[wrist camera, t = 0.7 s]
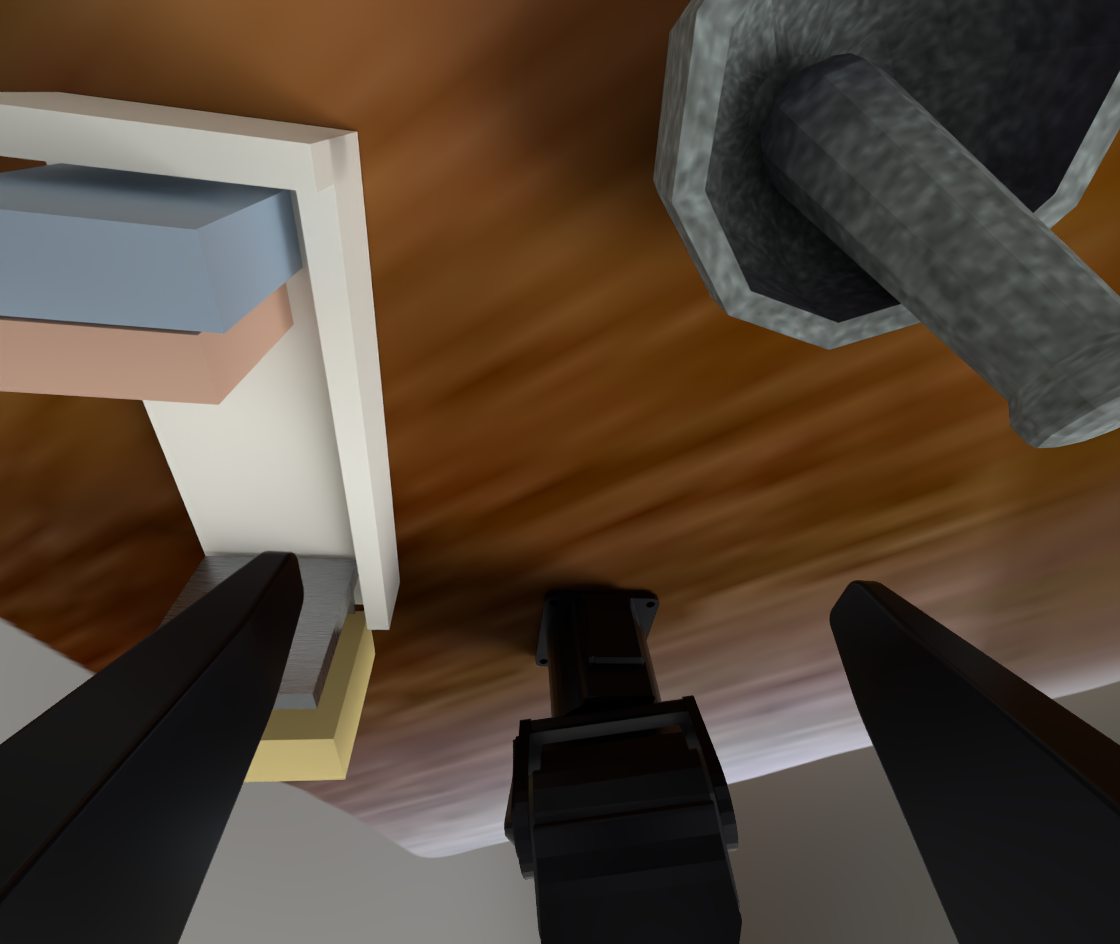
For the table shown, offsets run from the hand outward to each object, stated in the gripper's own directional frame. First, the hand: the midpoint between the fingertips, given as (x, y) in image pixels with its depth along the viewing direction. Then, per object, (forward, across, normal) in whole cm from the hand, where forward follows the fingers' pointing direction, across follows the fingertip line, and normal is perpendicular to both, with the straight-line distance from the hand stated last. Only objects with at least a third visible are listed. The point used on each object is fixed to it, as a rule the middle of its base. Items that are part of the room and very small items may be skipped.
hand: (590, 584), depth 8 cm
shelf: (+13, +10, +5) cm, 18 cm away
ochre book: (+14, +10, +20) cm, 26 cm away
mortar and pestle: (+14, -7, -7) cm, 16 cm away
